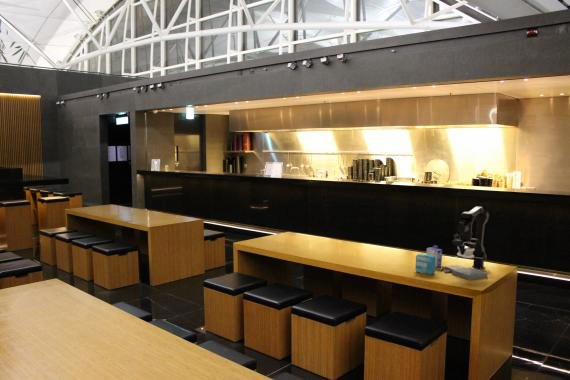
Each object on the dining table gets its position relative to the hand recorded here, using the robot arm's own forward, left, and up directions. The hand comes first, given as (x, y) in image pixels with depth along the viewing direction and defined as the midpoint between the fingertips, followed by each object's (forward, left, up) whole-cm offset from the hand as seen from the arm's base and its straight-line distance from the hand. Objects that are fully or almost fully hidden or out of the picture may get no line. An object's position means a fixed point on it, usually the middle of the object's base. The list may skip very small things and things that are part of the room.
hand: (465, 254), depth 319 cm
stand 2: (0, +4, -13) cm, 14 cm away
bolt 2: (+8, -7, -13) cm, 17 cm away
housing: (0, 0, -1) cm, 1 cm away
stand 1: (-2, -9, -13) cm, 16 cm away
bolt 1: (+8, -13, -13) cm, 20 cm away
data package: (+22, -13, -14) cm, 29 cm away
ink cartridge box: (+4, -25, -14) cm, 29 cm away
